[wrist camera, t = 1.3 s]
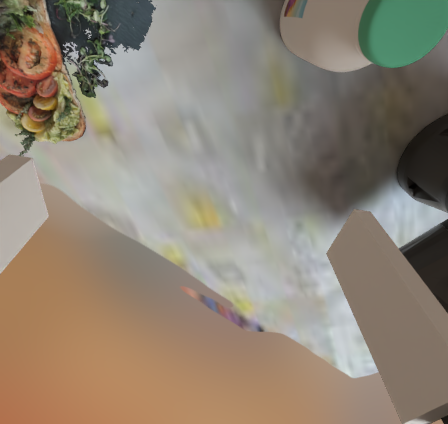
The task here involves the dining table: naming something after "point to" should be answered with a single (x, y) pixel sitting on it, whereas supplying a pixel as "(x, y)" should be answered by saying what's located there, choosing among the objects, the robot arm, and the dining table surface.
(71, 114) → the plated dish
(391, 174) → the dining table surface
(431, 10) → the milk bottle
